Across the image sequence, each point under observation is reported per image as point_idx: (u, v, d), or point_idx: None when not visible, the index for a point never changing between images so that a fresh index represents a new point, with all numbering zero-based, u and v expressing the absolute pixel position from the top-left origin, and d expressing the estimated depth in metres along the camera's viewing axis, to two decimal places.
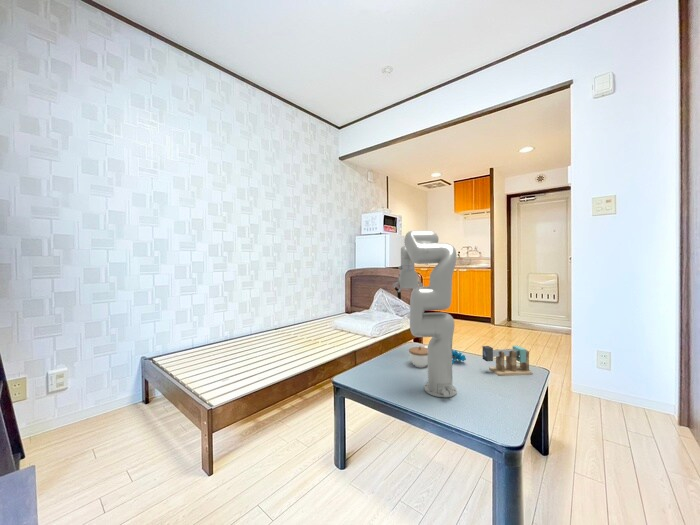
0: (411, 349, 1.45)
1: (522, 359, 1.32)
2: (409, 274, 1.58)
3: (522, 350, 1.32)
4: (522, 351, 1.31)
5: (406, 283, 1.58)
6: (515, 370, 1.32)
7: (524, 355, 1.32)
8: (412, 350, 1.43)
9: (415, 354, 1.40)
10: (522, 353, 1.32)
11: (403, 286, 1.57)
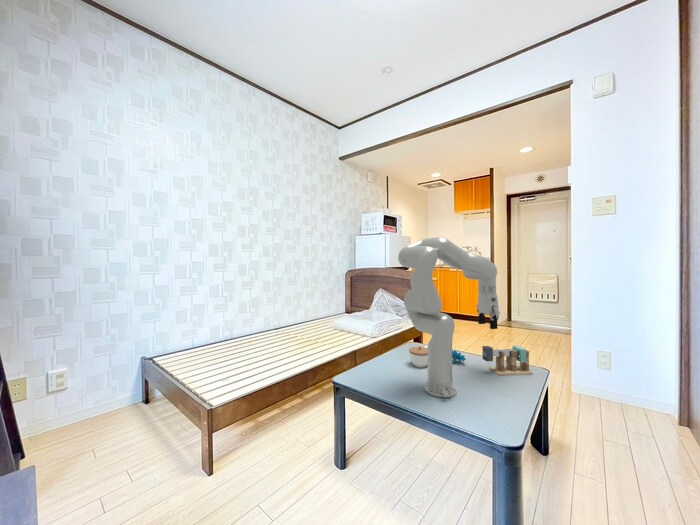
0: (411, 349, 1.45)
1: (522, 359, 1.32)
2: None
3: (522, 350, 1.32)
4: (522, 351, 1.31)
5: None
6: (515, 370, 1.32)
7: (524, 355, 1.32)
8: (412, 350, 1.43)
9: (415, 354, 1.40)
10: (522, 353, 1.32)
11: None
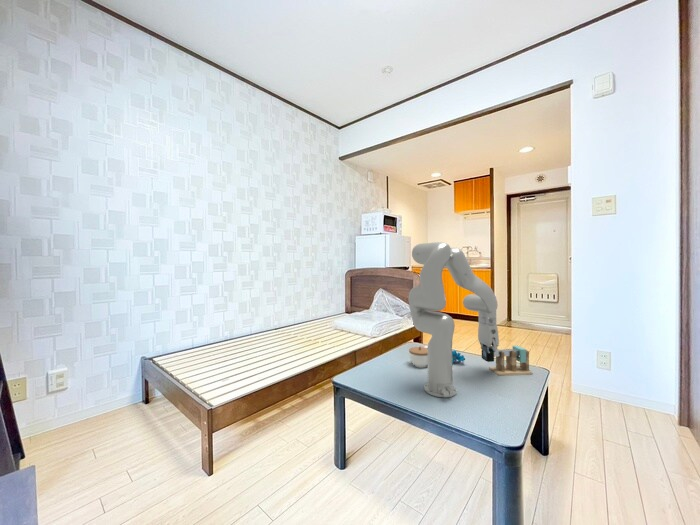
0: (411, 349, 1.45)
1: (522, 359, 1.32)
2: None
3: (522, 350, 1.32)
4: (522, 351, 1.31)
5: None
6: (515, 370, 1.32)
7: (524, 355, 1.32)
8: (412, 350, 1.43)
9: (415, 354, 1.40)
10: (522, 353, 1.32)
11: None
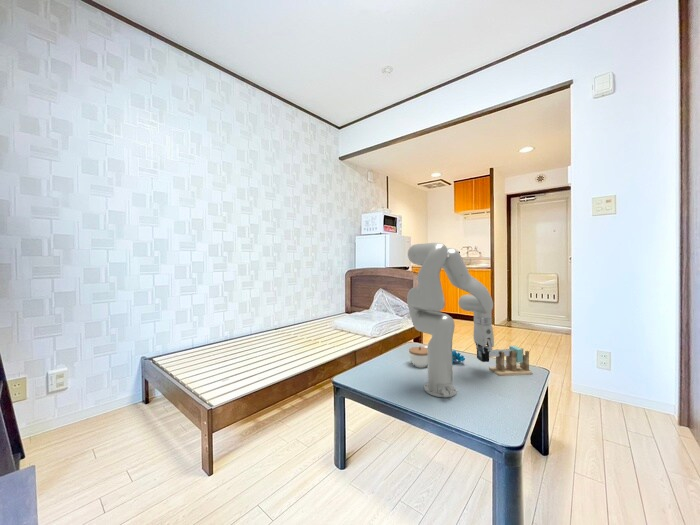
0: (411, 349, 1.45)
1: (519, 359, 1.31)
2: None
3: (519, 350, 1.31)
4: (519, 351, 1.31)
5: None
6: (515, 370, 1.32)
7: (521, 355, 1.31)
8: (412, 350, 1.43)
9: (415, 354, 1.40)
10: (519, 353, 1.31)
11: None
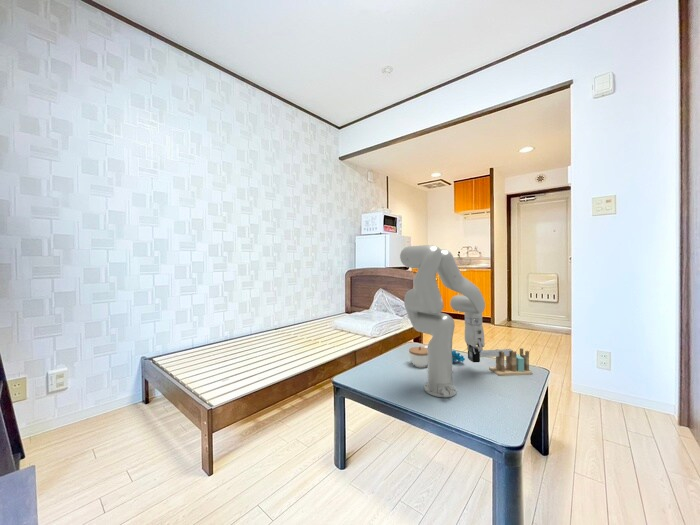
0: (411, 349, 1.45)
1: (520, 368, 1.32)
2: None
3: (520, 359, 1.32)
4: (520, 360, 1.32)
5: None
6: (515, 370, 1.32)
7: (522, 364, 1.32)
8: (412, 350, 1.43)
9: (415, 354, 1.40)
10: (520, 362, 1.32)
11: None
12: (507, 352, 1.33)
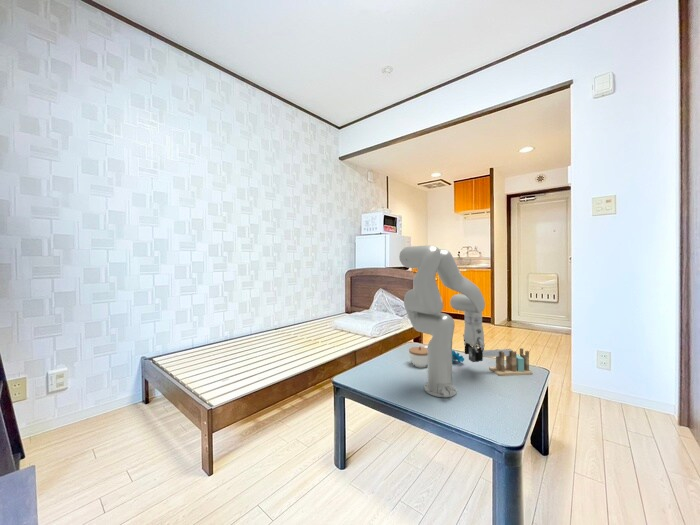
0: (411, 349, 1.45)
1: (519, 368, 1.32)
2: None
3: (520, 359, 1.32)
4: (519, 360, 1.32)
5: None
6: (515, 370, 1.32)
7: (522, 364, 1.32)
8: (412, 350, 1.43)
9: (415, 354, 1.40)
10: (519, 362, 1.32)
11: None
12: (507, 352, 1.33)
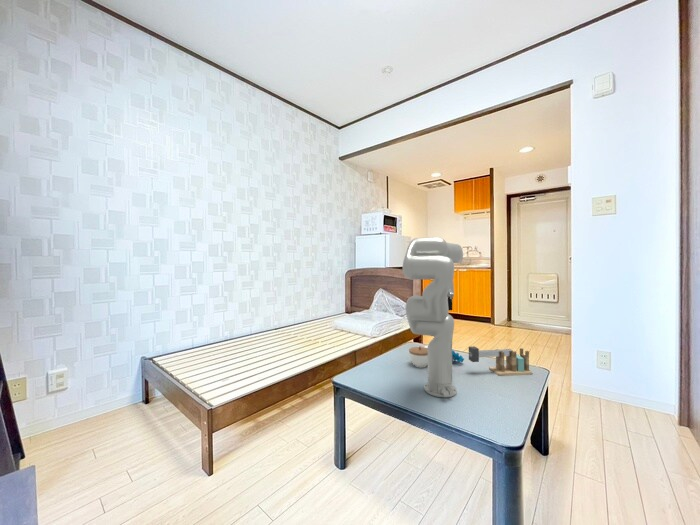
0: (411, 349, 1.45)
1: (519, 368, 1.32)
2: None
3: (520, 359, 1.32)
4: (519, 360, 1.32)
5: None
6: (515, 370, 1.32)
7: (522, 364, 1.32)
8: (412, 350, 1.43)
9: (415, 354, 1.40)
10: (519, 362, 1.32)
11: None
12: (507, 352, 1.33)
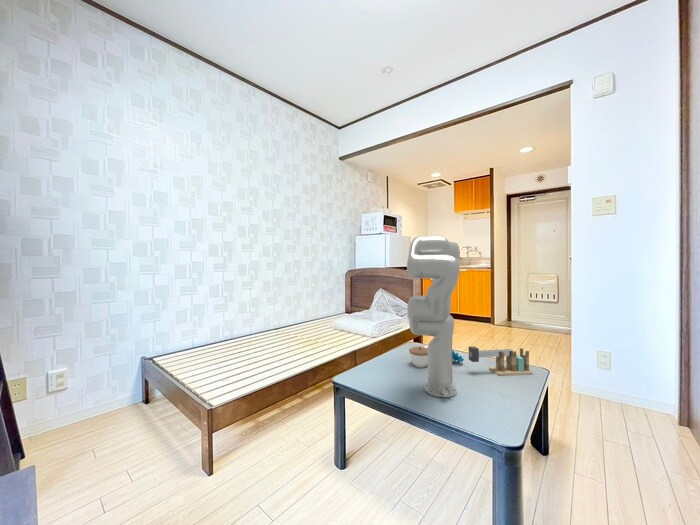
0: (411, 349, 1.45)
1: (519, 368, 1.32)
2: None
3: (520, 359, 1.32)
4: (519, 360, 1.32)
5: None
6: (515, 370, 1.32)
7: (522, 364, 1.32)
8: (412, 350, 1.43)
9: (415, 354, 1.40)
10: (519, 362, 1.32)
11: None
12: (507, 352, 1.33)
